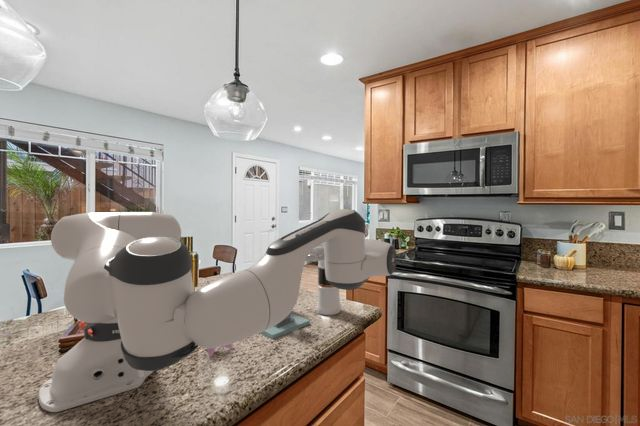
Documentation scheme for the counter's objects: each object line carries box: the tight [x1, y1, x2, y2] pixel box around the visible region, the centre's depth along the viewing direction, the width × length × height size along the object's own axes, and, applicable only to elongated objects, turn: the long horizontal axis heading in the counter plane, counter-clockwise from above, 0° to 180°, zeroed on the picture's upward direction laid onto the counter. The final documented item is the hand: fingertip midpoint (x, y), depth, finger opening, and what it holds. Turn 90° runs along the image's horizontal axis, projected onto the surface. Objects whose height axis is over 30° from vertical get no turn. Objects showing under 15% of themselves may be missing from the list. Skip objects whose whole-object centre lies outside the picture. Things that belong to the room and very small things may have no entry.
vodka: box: [315, 260, 342, 316], centre depth 115 cm, size 9×9×30 cm
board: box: [259, 312, 311, 340], centre depth 103 cm, size 16×14×6 cm
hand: (306, 246), depth 93 cm, fingers open, 8 cm apart
